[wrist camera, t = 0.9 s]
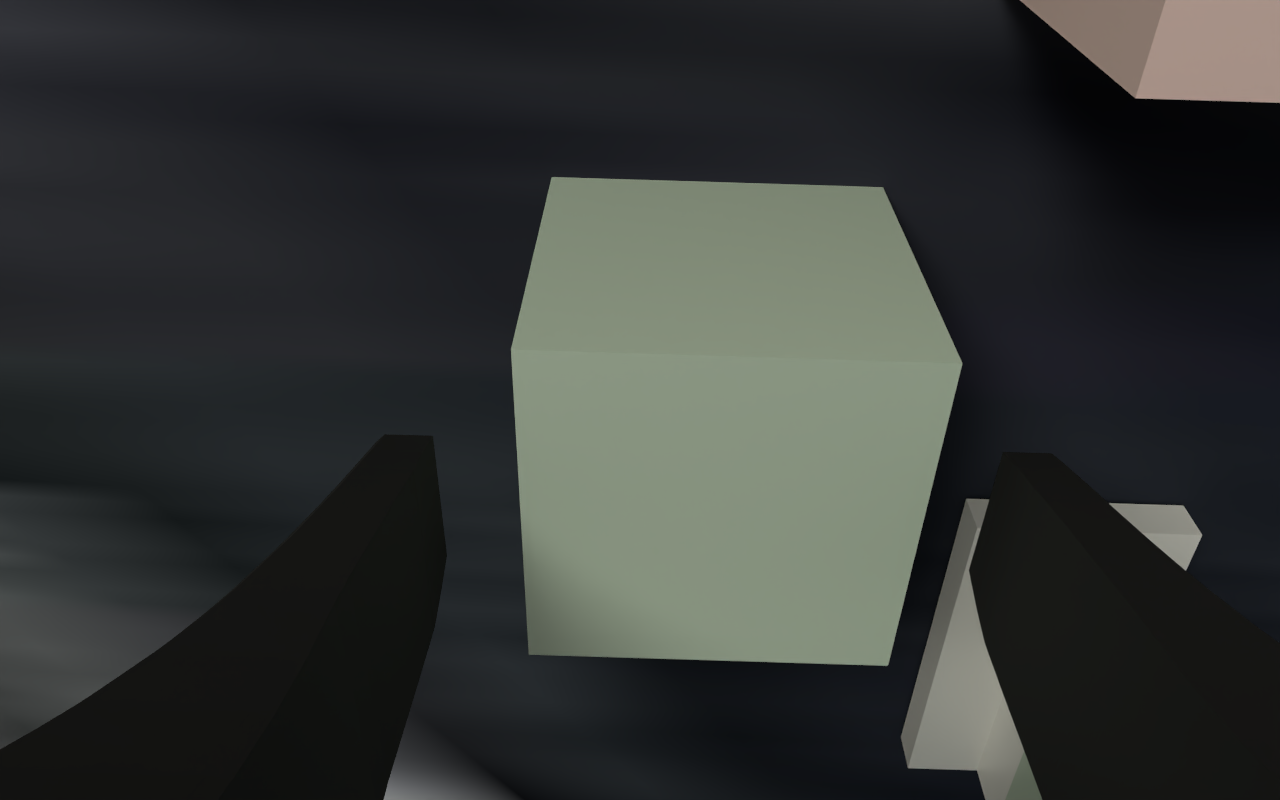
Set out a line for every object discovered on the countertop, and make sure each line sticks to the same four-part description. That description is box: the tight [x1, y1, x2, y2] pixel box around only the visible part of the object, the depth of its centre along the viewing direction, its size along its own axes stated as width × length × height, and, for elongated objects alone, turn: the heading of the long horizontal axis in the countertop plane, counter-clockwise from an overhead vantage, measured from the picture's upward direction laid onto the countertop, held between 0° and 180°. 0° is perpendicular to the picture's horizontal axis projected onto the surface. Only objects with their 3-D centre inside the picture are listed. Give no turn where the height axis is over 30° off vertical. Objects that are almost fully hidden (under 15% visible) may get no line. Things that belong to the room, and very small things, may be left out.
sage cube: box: [511, 177, 962, 666], centre depth 15 cm, size 5×5×5 cm
